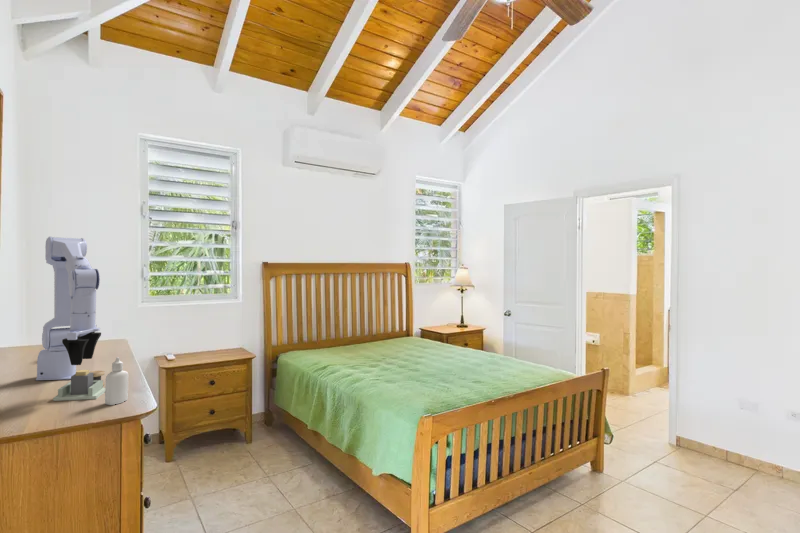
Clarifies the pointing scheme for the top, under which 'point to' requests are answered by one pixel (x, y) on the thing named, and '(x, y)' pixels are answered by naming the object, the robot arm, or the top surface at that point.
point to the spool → (97, 375)
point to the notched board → (93, 392)
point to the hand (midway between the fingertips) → (82, 361)
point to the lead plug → (81, 382)
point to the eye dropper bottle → (116, 384)
